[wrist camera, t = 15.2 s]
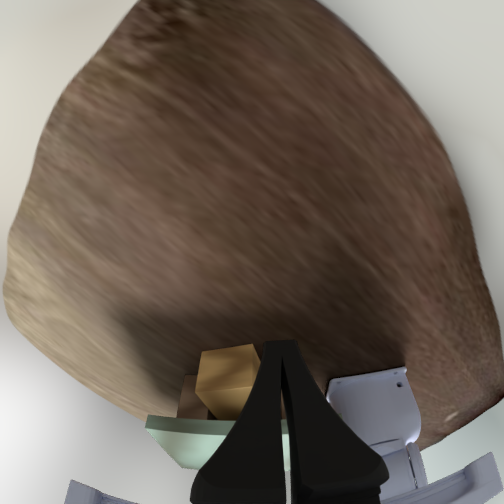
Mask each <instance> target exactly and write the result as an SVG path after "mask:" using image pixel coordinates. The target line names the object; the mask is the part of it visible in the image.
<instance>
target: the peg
mask: <svg viewBox="0 0 504 504" xmlns="http://www.w3.org/2000/svg"><path fill="white" fill-rule="evenodd" d="M260 363H261V362H260V360H259V357H258V355H257V353H256V350H255V348H254V346H253V344H248V345H242V346H236V347H229V348H223V349H216V350H209V351H202V354H201V360H200V365H199V371H198V377H197V382H196V388H195V393H196V394H197V395H198V397H199V398H200V399H201V400H202V402H203V403H204V404H205V405H206V406H207V408H208V409H209V410H210V411H211V412H212V414H213V415H214V416H215V417H216V418H217V419H218V421H236V420H237V418H238V417H239V415H240V413H241V411H242V409H243V407H244V405H245V403H246V401H247V399H248V396H249V394H250V392H251V389H252V387H253V384H254V382H255V379H256V376H257V373H258V370H259V366H260Z"/></svg>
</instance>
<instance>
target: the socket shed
mask: <svg viewBox="0 0 504 504" xmlns="http://www.w3.org/2000/svg"><path fill="white" fill-rule="evenodd" d="M197 377H198V375H185V378H184V382H183V387H182V392H181V397H180V402H179V407H178V412H177V417H176V418H173V417H163V416H155V415H148V417H147V421H146V426H145V429H146V430H147V431H148V432H149V433H150V435H151V436H152V437H153V438H154V439H155V440H156V441H157V442H158V444H159V445H160V446H161V447H162V448H163V449H164V450H165V451H166V452H167V453H168V454H169V455H170V456H171V457H172V458H173V459H174V460H175V461H176V462H177V463H178V464H179V465H180V466H181V467H182V468H187V469H197V470H200V468H201V467H202V466H203V465H204V464H205V463H206V462H207V461H208V459H209V458H210V457H211V456H212V455H213V454H214V452H215V451H216V450H217V448H218V447H219V446H220V444H221V443H222V442H223V440H224V439H225V437H226V436H227V435H228V433H229V432H230V430H231V428H232V427H233V425H234V423H235V422H236V421H218V419H217V418H216V417H215V416H214V415H213V414H212V412H211V411H210V410H209V409H208V408H207V406H206V405H205V404H204V403H203V402H202V400H201V399H200V398H199V397H198V395H197V394H196V393H195V388H196V382H197ZM280 411H281V426H282V441H283V455H284V469H285V471H290V451H289V435H288V427H287V421H286V415H285V409H284V402H283V396H282V390H281V407H280ZM338 415H339V416H340V417H341V419H342V420H343V418H342V413H339V414H338Z"/></svg>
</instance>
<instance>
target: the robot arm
mask: <svg viewBox="0 0 504 504" xmlns="http://www.w3.org/2000/svg"><path fill="white" fill-rule="evenodd" d="M406 371H407V369H406V367H400V368H395V369H390V370H385V371H380V372H375V373H369V374H363V375H356V376H350V377H343V378H335V379H332V380H331V381H330V383H329V387H328V391H327V394H326V398H325V396H324V395H323V393H322V392H321V390H320V389H319V387H318V385H317V384H316V382H315V380H314V379H313V377H312V375H311V373H310V371H309V370H308V368H307V366H306V364H305V361H304V359H303V357H302V355H301V352H300V350H299V347H298V344H297V341H296V340H281V341H266V342H265V343H264V345H263V354H262V359H261V363H260V366H259V370H258V373H257V376H256V379H255V382H254V384H253V387H252V389H251V392H250V394H249V396H248V399H247V401H246V403H245V405H244V407H243V409H242V411H241V413H240V415H239V417H238V418H237V420H236V422H235V423H234V425H233V427H232V428H231V430H230V432H229V433H228V435H227V436H226V437H225V439H224V440H223V442H222V443H221V444H220V446H219V447H218V448H217V450H216V451H215V452H214V454H213V455H212V456H211V457H210V458H209V459H208V461H207V462H206V463H205V464H204V465H203V466H202V467H201V468H200V470H199V471H198V473H197V475H196V477H195V479H194V482H193V485H192V488H191V495H190V502H191V503H192V504H286V485H285V469H284V455H283V441H282V426H281V411H280V407H281V390H282V396H283V402H284V409H285V415H286V421H287V427H288V435H289V451H290V476H291V504H484V503H485V502H487V501H488V500H489V499H491V498H493V497H494V496H495V495H497V494H498V493H500V492H501V491H502V490H503V485H502V482H501V478H500V475H499V472H498V469H497V465H496V463H495V460H494V456H493V453H492V452H489V453H487V454H486V455H484V456H482V457H480V458H479V459H477V460H475V461H473V462H472V463H470V464H469V465H467V466H466V467H465V468H464V469H462V470H460V471H458V472H456V473H454V474H451V475H449V476H447V477H445V478H443V479H440V480H438V481H436V482H434V483H431V484H428V482H427V477H426V473H425V469H424V465H423V461H422V458H421V454H420V451H419V448H418V445H417V444H415V443H413V442H414V441H416V439H417V438H418V436H419V433H420V430H421V417H420V412H419V409H418V406H417V403H416V401H415V398H414V395H413V393H412V390H411V388H410V385H409V383H408V380H407V378H406V375H405V373H406ZM339 413H342V418H343V420H342V419H341V417H340V416H339V415H338V414H339ZM406 445H407V446H408V450H409V451H408V452H407V448H406ZM408 453H409V455H408ZM409 456H410V459H409ZM414 478H415V479H414ZM415 480H416V483H415ZM416 484H417V486H416ZM64 504H138V503H134V502H130V501H127V500H123V499H120V498H116V497H113V496H110V495H107V494H104V493H102V492H100V491H99V490H97V489H94V488H92V487H89V486H87V485H84V484H82V483H79V482H77V481H74V480H71V481H70V484H69V488H68V491H67V495H66V499H65V503H64Z"/></svg>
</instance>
